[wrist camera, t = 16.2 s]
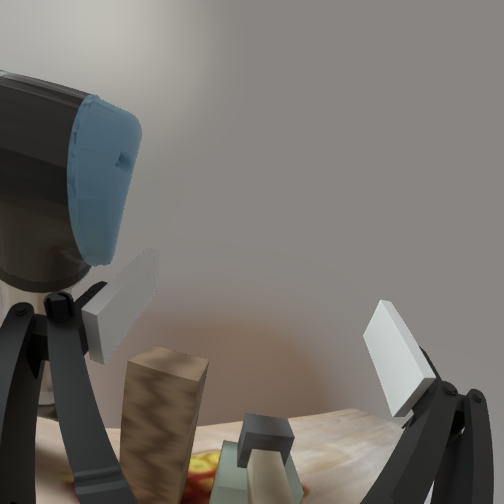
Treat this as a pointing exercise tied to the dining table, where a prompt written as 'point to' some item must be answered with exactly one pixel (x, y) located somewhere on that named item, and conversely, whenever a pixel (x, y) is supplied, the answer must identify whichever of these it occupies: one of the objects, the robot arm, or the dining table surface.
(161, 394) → the stand tall
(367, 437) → the dining table surface
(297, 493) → the pale green block
